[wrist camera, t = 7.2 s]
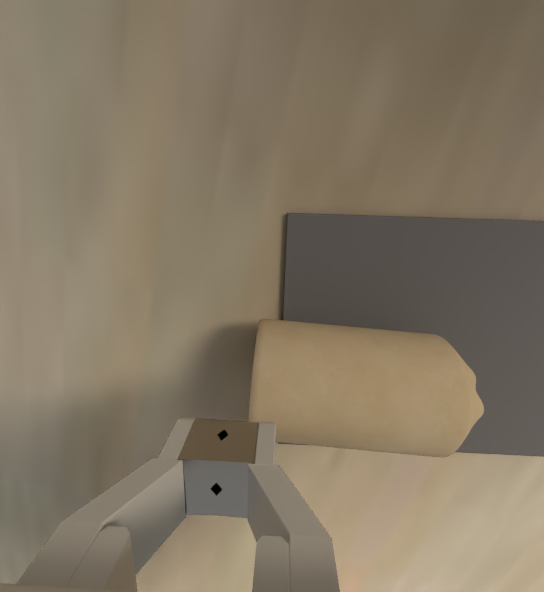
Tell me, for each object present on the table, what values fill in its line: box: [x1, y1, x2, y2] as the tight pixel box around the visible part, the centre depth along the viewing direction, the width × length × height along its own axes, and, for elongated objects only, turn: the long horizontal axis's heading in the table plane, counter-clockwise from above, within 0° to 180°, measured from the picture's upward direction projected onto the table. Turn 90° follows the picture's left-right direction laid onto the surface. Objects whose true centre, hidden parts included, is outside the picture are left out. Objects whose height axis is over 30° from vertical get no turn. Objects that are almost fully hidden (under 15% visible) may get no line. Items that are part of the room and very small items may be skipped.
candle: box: [248, 319, 484, 457], centre depth 14 cm, size 6×6×10 cm
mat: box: [278, 213, 544, 456], centre depth 16 cm, size 17×14×1 cm
